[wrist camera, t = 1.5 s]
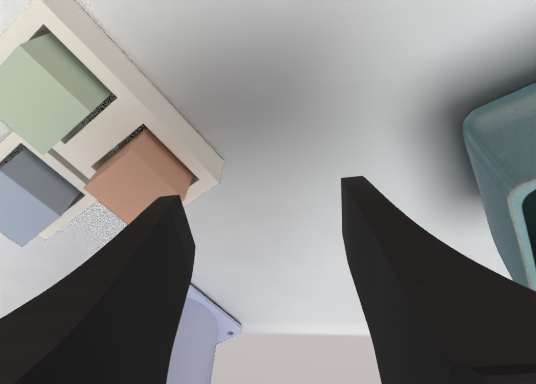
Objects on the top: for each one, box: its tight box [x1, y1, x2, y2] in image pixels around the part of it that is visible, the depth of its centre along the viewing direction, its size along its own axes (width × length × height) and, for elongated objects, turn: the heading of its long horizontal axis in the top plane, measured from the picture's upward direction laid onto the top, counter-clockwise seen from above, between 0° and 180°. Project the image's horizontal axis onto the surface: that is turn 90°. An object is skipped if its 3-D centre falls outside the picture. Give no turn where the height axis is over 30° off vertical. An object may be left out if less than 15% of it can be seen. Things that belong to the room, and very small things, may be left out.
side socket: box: [0, 131, 98, 241], centre depth 21 cm, size 5×5×2 cm
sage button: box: [0, 32, 112, 155], centre depth 17 cm, size 3×3×3 cm
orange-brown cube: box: [83, 127, 193, 225], centre depth 19 cm, size 3×3×3 cm
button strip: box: [0, 0, 224, 208], centre depth 20 cm, size 5×11×2 cm, turn 37°
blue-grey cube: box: [0, 147, 80, 247], centre depth 20 cm, size 3×3×3 cm
